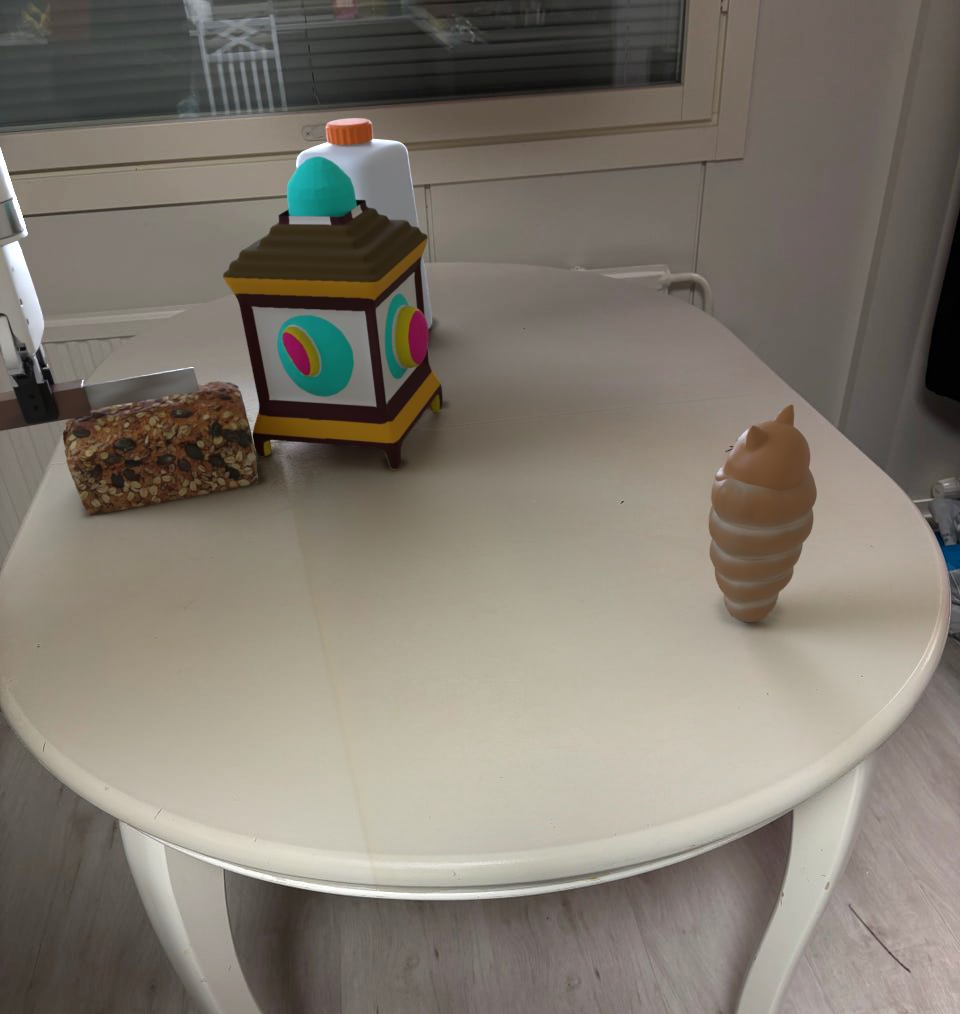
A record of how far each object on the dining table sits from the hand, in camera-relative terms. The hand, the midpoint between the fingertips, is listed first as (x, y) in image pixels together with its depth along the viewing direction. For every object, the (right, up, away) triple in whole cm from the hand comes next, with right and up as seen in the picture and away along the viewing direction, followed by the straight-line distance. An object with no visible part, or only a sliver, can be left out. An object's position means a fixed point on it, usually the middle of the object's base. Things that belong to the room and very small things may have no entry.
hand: (44, 413), depth 97 cm
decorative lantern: (+29, +1, +16) cm, 34 cm away
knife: (+5, +1, +1) cm, 6 cm away
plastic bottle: (+29, +22, +44) cm, 56 cm away
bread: (+11, -6, +8) cm, 15 cm away
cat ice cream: (+67, -21, -16) cm, 72 cm away
